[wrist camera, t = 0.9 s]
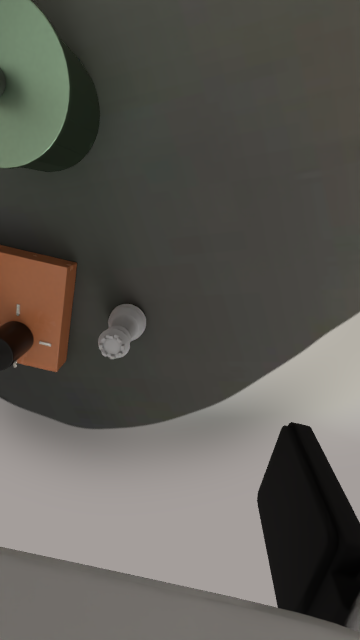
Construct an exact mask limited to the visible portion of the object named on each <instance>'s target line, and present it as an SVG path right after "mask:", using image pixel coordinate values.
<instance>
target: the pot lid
mask: <svg viewBox="0 0 360 640" xmlns="http://www.w3.org/2000/svg"><path fill="white" fill-rule="evenodd" d="M71 96H72V85H71V75H70V69H69V64H68V60H67V57H66V53H65V50H64V48H63V46H62V43H61V41H60V39H59V37H58V35H57V33H56V31H55V29H54V28H53V26H52V25H51V23H50V22H49V20H48V19H47V17H46V16H45V15H44V14H43V13H42V12H41V11H40V9H39V8H38V7H37V6H36V5H35V4H34V3H33V2H32V1H31V0H0V168H10V169H11V168H19V167H23V166H26V165H29V164H31V163H33V162H36V161H37V160H39V159H40V158H42V157H43V156H45V155H46V154H47V153H48V152H49V151H50V150H51V149H52V148H53V147H54V145H55V144H56V143H57V141H58V140H59V138H60V136H61V135H62V133H63V131H64V128H65V126H66V123H67V120H68V116H69V113H70V106H71Z"/></svg>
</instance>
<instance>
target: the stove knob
mask: <svg viewBox="0 0 360 640" xmlns="http://www.w3.org/2000/svg"><path fill="white" fill-rule="evenodd" d="M33 341H34V339H33V334H32V332H31V330H30V329H29V328H28V327H27V326H26V325H25V324H23V323H21V322H18V321H9V322H7V323H5V324H3V325H2V326H0V370H5V369H7V368H8V367H10V366H11V365H12V364H13V363H14V362H15V361H17V360H18V359H19V358H20V357H21V356H22V355H24V354H25V353H26V352H27V351H28V350H29V349H30V348H31V347H32V345H33Z"/></svg>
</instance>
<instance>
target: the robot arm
mask: <svg viewBox="0 0 360 640" xmlns="http://www.w3.org/2000/svg"><path fill="white" fill-rule="evenodd" d="M257 499H258V500H257V502H258V508H259V513H260V518H261V524H262V529H263V534H264V539H265V544H266V549H267V554H268V559H269V565H270V570H271V575H272V580H273V585H274V590H275V595H276V600H277V605H278V608H276V607H272V606H268V605H264V604H260V603H255V602H251V601H247V600H242V599H239V598H235V597H230V596H225V595H221V594H216V593H212V592H207V591H203V590H198V589H194V588H189V587H184V586H180V585H175V584H171V583H166V582H162V581H157V580H153V579H148V578H144V577H139V576H134V575H130V574H125V573H120V572H116V571H111V570H106V569H102V568H97V567H93V566H88V565H83V564H79V563H74V562H69V561H65V560H60V559H55V558H51V557H46V556H41V555H36V554H31V553H27V552H22V551H17V550H13V549H8V548H3V547H0V640H360V523H359V521H358V519H357V517H356V515H355V513H354V511H353V509H352V507H351V505H350V503H349V501H348V499H347V497H346V495H345V493H344V491H343V489H342V488H341V485H340V483H339V482H338V480H337V478H336V476H335V474H334V472H333V470H332V468H331V466H330V464H329V462H328V460H327V458H326V456H325V454H324V452H323V450H322V449H321V446H320V444H319V442H318V441H317V439H316V437H315V435H314V433H313V431H312V429H311V427H310V426H306V425H302V424H296V423H292V422H291V423H289V425H288V426H283V427H282V429H281V431H280V434H279V437H278V440H277V442H276V445H275V448H274V450H273V453H272V456H271V459H270V461H269V464H268V467H267V469H266V472H265V475H264V478H263V480H262V483H261V486H260V488H259V491H258V498H257Z"/></svg>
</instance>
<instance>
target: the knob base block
mask: <svg viewBox="0 0 360 640" xmlns="http://www.w3.org/2000/svg"><path fill="white" fill-rule="evenodd" d="M76 269H77V263H76V262H71V261H67V260H63V259H59V258H54V257H50V256H46V255H42V254H37V253H33V252H29V251H25V250H20V249H16V248H12V247H8V246H3V245H0V326H2V325H3V324H5V323H7V322H9V321H18V322H21V323H23V324H25V325H26V326H27V327H28V328H29V329H30V330H31V332H32V334H33V339H34V341H33V345H32V347H31V348H30V349H29V350H28V351H27V352H26V353H25V354H24V355H22V356H21V357H20V358H19V359H18V360H17V361H15V362H14V366H13V368H17V363H19V364H24V365H28V366H32V367H36V368H41V369H45V370H49V371H54V372H57V371H58V370H59V368H60V367H61V366H62V365H63V364H64V363H65V362H66V357H67V348H68V339H69V330H70V322H71V313H72V304H73V295H74V287H75V278H76Z"/></svg>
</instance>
